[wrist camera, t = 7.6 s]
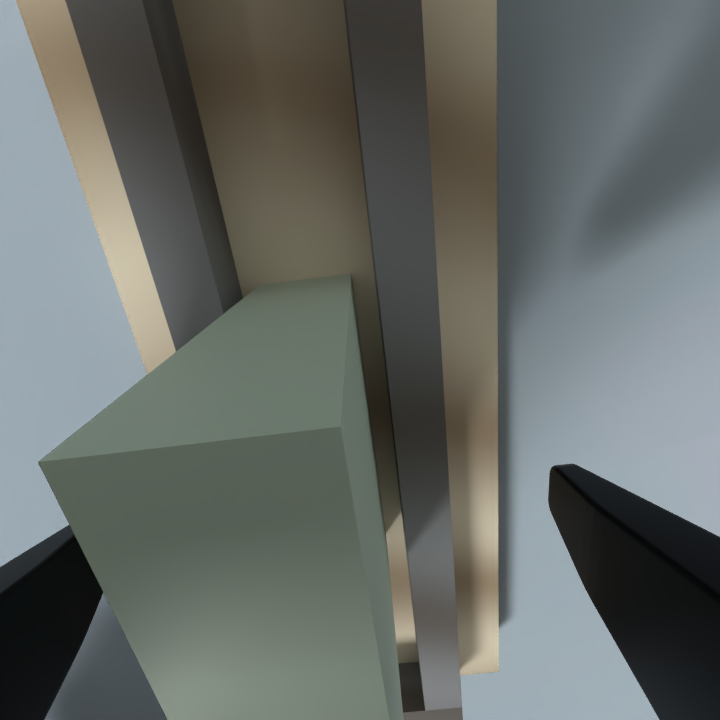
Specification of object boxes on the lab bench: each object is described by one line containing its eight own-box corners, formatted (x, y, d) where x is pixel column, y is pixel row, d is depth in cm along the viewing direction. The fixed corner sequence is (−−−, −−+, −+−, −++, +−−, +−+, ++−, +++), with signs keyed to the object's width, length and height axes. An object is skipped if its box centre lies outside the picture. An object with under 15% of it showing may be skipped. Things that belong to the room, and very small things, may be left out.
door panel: (386, 533, 12) (421, 911, 6) (315, 541, 12) (270, 922, 6) (351, 273, 9) (341, 425, 3) (259, 285, 9) (38, 461, 3)
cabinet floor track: (490, 643, 16) (514, 721, 13) (265, 665, 16) (249, 744, 13) (478, -113, 8) (533, -255, 5) (33, -40, 8) (-101, -143, 6)
